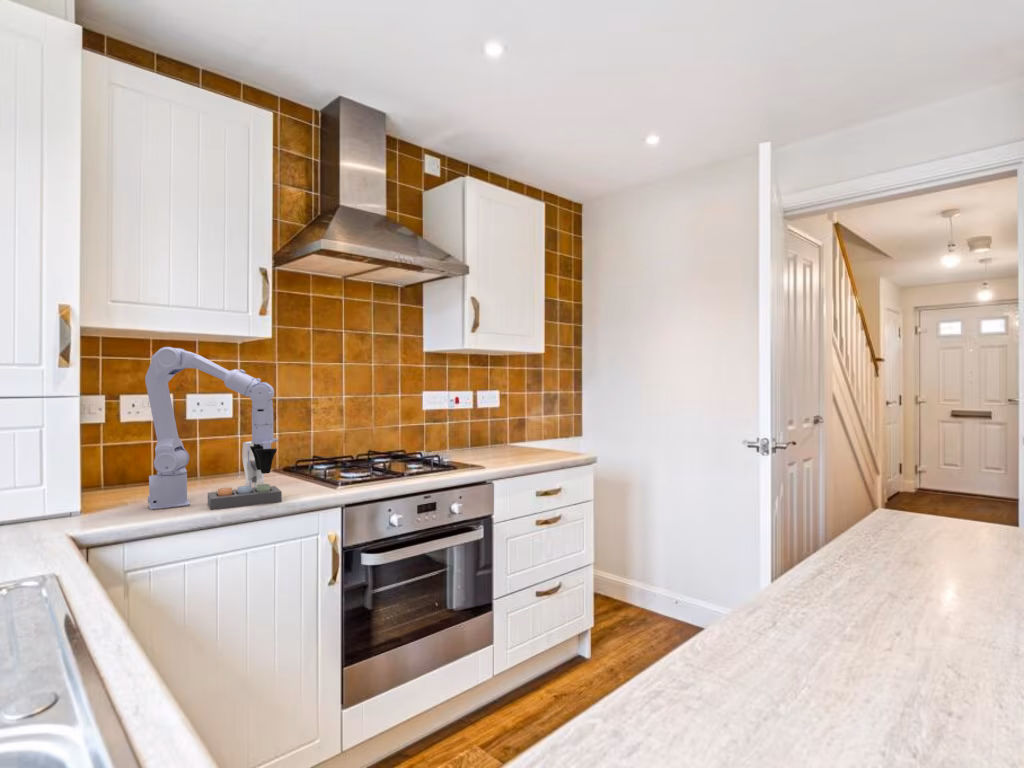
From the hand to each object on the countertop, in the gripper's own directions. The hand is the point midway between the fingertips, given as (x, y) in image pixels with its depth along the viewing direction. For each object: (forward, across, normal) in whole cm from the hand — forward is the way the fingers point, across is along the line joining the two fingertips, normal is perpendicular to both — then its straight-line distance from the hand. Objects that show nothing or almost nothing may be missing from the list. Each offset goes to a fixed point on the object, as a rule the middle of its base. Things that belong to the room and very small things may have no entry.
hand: (263, 471), depth 168 cm
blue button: (+7, 0, +5) cm, 9 cm away
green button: (+7, 0, 0) cm, 7 cm away
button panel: (+8, 0, +5) cm, 10 cm away
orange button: (+7, 0, +10) cm, 12 cm away
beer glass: (+9, +20, 0) cm, 22 cm away
